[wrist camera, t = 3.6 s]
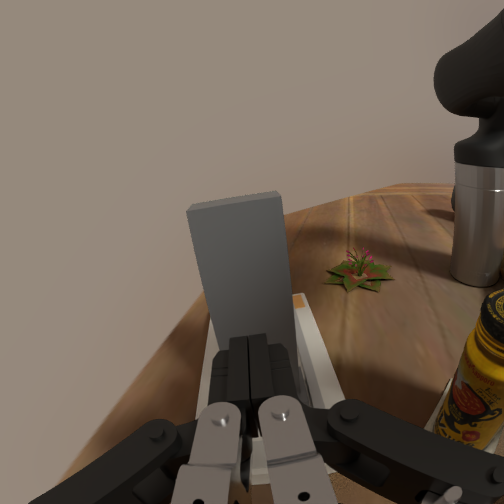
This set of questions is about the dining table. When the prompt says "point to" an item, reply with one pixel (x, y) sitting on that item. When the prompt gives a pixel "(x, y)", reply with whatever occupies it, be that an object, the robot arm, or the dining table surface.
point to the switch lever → (247, 271)
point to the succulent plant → (359, 273)
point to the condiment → (476, 384)
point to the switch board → (309, 358)
